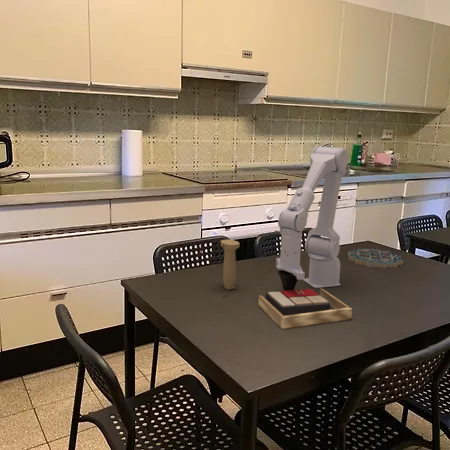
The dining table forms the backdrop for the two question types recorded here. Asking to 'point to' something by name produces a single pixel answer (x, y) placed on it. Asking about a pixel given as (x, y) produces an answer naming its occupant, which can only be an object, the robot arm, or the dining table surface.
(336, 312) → the box
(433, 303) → the dining table surface
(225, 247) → the handle
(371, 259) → the decorative tile
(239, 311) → the dining table surface
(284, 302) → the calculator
